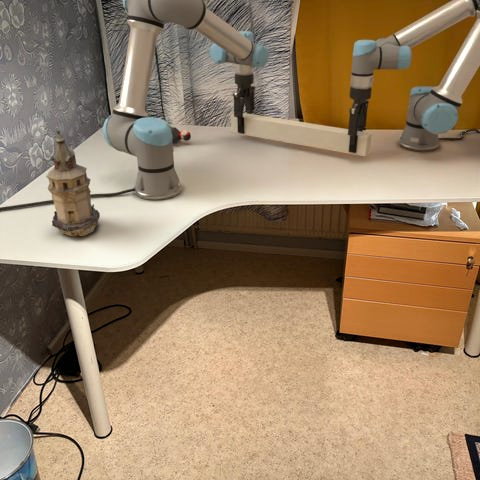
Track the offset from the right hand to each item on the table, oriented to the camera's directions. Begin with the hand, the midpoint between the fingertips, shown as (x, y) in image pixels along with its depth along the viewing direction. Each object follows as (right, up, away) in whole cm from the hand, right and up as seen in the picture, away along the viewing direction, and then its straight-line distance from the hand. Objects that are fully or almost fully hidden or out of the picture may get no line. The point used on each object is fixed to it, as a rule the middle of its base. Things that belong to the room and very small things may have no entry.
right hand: (355, 149), depth 200 cm
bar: (-21, +5, +11) cm, 24 cm away
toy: (-78, +6, +21) cm, 81 cm away
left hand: (-41, +11, +22) cm, 48 cm away
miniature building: (-90, -31, -45) cm, 105 cm away
